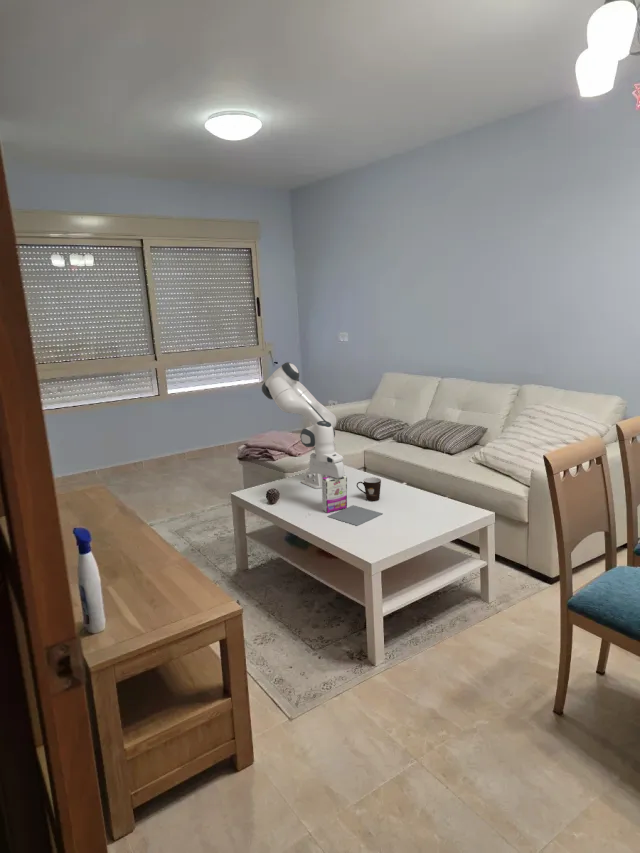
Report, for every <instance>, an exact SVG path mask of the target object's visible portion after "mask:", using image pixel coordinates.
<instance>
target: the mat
mask: <svg viewBox="0 0 640 853" xmlns="http://www.w3.org/2000/svg"><path fill="white" fill-rule="evenodd" d="M383 514H384V513H383V512H379V511H375V510H373V509H368V508H364V507H360V506H358V505H354V504H352V505H350V506H347V508H345V509H342V510H338V511H335V512H334V513H332V514H329V515H327V518H328V519H329V518H331V519H333V520H337V521H339V522H342V523H345V524H349V525H352V526H355V527H358V526H360V525H363V524H364V523H367V522H369V521H372V520H373V519H377V518H378V517H380V516H382V515H383Z"/></svg>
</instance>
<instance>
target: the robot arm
mask: <svg viewBox="0 0 640 853" xmlns="http://www.w3.org/2000/svg"><path fill="white" fill-rule="evenodd" d="M299 378H300V372H299V370H298V368H297V366H296V365H295V364H293V363H291V362H289V361H286V362H284V363H282V364H281V366H280V367H278V368H277V369H276V370H275V371H274V372H273V373H272V374H271V375H270V376H269V377H268V378H267V379H266V381H264V383H263V384H262V385H261V392H262V394H263V395H264V396H265V398H267V399H268V400H273V401H274V403H275V404H276V406H277V407H278V408H279V409H280V410H281V411H282V412H283V413H286V414H293V415H294V414H295V415H299V416H303V417H304V418H306V419H307V420H308V421H309V422H310V423H311V424H310V426H308V427H305V428H303V429H302V430H301V431H300V435H299V436H300V437H299V438H300V442H301V444H302V445H303V446H305V447H306V448H314V452H313V453H311V454H310V455H309V458H310V459H309V463H308V465H309V468H308V469H307V470H305V474H304V478H302V479H301V480H300V483H301V484H304V485H306V486H309V487H311V488H313V489H322V478H324V477H329V476H330V477H334V478H338V479H339V478H342V477H343V476H344V475H345V465H344V462H343V461H344V456H343V455H341V454H340V453H338V452H337V451H336V449H337V448H336V442H335V436H336V431H335V427H336V426H337V416H336V415H335V413H334V412H331V410H329V409H328V408H327V407H326V406H324V405H323V404H322V403H321V402H319V401H318V399H316V397H315V396H314V395H313V394H312V393H311V392H310V391H309V389H308V388H306V386H304V384H302V383H301V382H300V379H299Z"/></svg>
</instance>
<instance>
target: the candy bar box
mask: <svg viewBox="0 0 640 853" xmlns="http://www.w3.org/2000/svg"><path fill="white" fill-rule="evenodd" d="M321 490H322V491H321V492H322V493H321V496H322V498H321V499H322V502H321V503H322V504H321V505H322V508H321V509H322V510H323V511H324V512H326V514H329V513H333V512H334V513H335V512H338V511H341V510H343V509H345V508H348V476H346V475H345V474H344V476H343V477H342V478H339V479H338V478H334V477H330V476H329V477H324V478H322V488H321Z"/></svg>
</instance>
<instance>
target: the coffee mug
mask: <svg viewBox="0 0 640 853" xmlns="http://www.w3.org/2000/svg"><path fill="white" fill-rule="evenodd" d="M359 484H362V485H363V486H364V490H362V489H361V488H360V487H359ZM381 484H382V479H381V478H380V477H371V476H369V477H366V478H364V479H363V481H358V482H357V483H356V488H357V489H358V490H359V491H361V492H362V493H364V494H365V498H366V501H368V502H379V501H380V499H381V498H380V497H381V496H380V494H381V487H382V486H381Z"/></svg>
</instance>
